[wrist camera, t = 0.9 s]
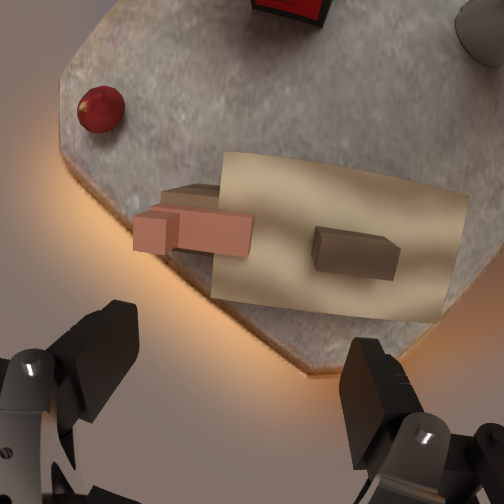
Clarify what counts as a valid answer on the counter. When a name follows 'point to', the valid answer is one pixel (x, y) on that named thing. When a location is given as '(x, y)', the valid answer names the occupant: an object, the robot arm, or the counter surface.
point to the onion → (100, 109)
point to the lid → (338, 239)
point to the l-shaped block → (192, 230)
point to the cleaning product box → (296, 9)
